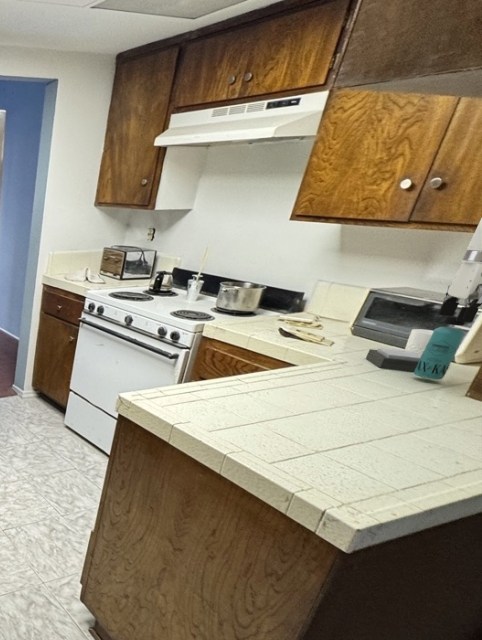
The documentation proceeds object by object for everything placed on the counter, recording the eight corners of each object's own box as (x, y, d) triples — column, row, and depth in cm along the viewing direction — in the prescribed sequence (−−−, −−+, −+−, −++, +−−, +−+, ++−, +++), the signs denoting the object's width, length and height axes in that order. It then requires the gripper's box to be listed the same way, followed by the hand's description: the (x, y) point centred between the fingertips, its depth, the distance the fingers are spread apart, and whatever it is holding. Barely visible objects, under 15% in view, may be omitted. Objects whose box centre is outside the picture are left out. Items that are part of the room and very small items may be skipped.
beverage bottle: (409, 375, 148) (437, 313, 141) (439, 380, 144) (470, 316, 137) (412, 380, 143) (442, 316, 136) (443, 386, 140) (476, 320, 132)
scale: (411, 363, 160) (415, 354, 158) (428, 374, 150) (433, 363, 148) (365, 358, 165) (369, 349, 163) (379, 368, 155) (383, 358, 153)
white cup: (417, 356, 168) (429, 329, 164) (438, 363, 161) (452, 335, 157) (393, 355, 169) (405, 328, 165) (413, 362, 161) (426, 334, 158)
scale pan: (411, 356, 158) (413, 351, 157) (424, 363, 150) (426, 358, 150) (376, 352, 162) (378, 347, 161) (387, 359, 154) (389, 354, 154)
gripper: (523, 261, 121) (490, 326, 128) (483, 256, 136) (455, 314, 142) (483, 259, 125) (452, 322, 131) (448, 254, 139) (422, 311, 145)
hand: (454, 318), depth 137 cm, fingers open, 9 cm apart
